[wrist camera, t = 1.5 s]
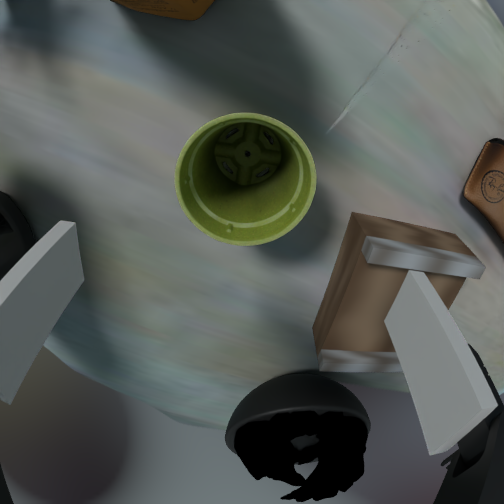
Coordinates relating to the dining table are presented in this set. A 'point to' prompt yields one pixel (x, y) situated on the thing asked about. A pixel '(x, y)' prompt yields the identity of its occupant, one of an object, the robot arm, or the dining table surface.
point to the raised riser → (382, 288)
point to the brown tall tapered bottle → (169, 7)
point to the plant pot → (245, 179)
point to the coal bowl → (301, 434)
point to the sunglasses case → (488, 184)
